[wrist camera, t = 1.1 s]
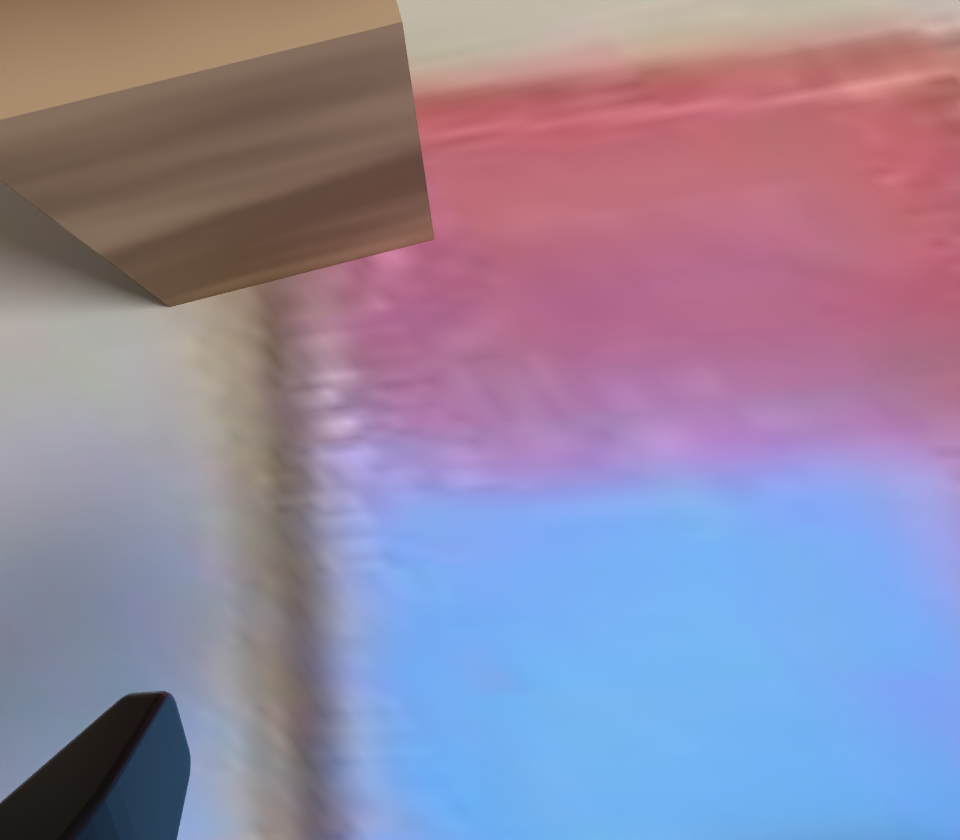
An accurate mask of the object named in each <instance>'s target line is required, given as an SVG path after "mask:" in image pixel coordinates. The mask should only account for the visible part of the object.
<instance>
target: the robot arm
mask: <svg viewBox="0 0 960 840" xmlns="http://www.w3.org/2000/svg"><path fill="white" fill-rule="evenodd" d="M189 776H190V752H189V747H188V744H187V740H186V737H185V733H184V729H183V726H182V722H181V719H180V715H179V712H178V708H177V705H176V702H175V700H174V698H173V696H172V695H171V694H170V693H168V692H165V691H157V692H141V693H131V694H128V695H126V696H124V697H122V698H121V699H120V700H118V701H117V702H116V703H115V704H114V705H113V706H112V707H110V708H109V709H108V710H107V711H106V712H105V713H103V714H102V715H101V716H100V717H99V718H98V719H97V720H95V721H94V722H93V723H92V724H91V725H90V726H88V727H87V728H86V729H85V730H84V731H83V732H82V733H80V734H79V735H78V736H77V737H76V738H75V739H73V740H72V741H71V742H70V743H69V744H68V745H67V746H65V747H64V748H63V749H62V750H61V751H60V752H58V753H57V754H56V755H55V756H54V757H53V758H52V759H50V760H49V761H48V762H47V763H46V764H45V765H43V766H42V767H41V768H40V769H39V770H38V771H37V772H35V773H34V774H33V775H32V776H31V777H30V778H28V779H27V780H26V781H25V782H24V783H23V784H22V785H20V786H19V787H18V788H17V789H16V790H15V791H13V792H12V793H11V794H10V795H9V796H8V797H7V798H5V799H4V800H3V801H2V802H1V803H0V840H177V835H178V830H179V825H180V820H181V816H182V811H183V806H184V801H185V796H186V791H187V786H188V781H189Z"/></svg>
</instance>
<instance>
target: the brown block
mask: <svg viewBox="0 0 960 840" xmlns="http://www.w3.org/2000/svg"><path fill="white" fill-rule="evenodd" d="M0 180H1V181H2V182H3V183H5V184H6V185H7V186H9V187H10V188H11V189H13V190H14V191H15V192H17V193H18V194H19V195H21V196H22V197H23V198H25V199H26V200H27V201H29V202H30V203H31V204H33V205H34V206H35V207H37V208H38V209H39V210H41V211H42V212H43V213H45V214H46V215H47V216H49V217H50V218H51V219H53V220H54V221H55V222H57V223H58V224H59V225H61V226H62V227H63V228H65V229H66V230H67V231H69V232H70V233H71V234H73V235H74V236H75V237H77V238H78V239H79V240H81V241H82V242H83V243H85V244H86V245H87V246H89V247H90V248H91V249H93V250H94V251H95V252H97V253H98V254H99V255H101V256H102V257H103V258H105V259H106V260H107V261H109V262H110V263H111V264H113V265H114V266H115V267H117V268H118V269H119V270H121V271H122V272H123V273H125V274H126V275H127V276H129V277H130V278H131V279H133V280H134V281H135V282H137V283H138V284H139V285H141V286H142V287H143V288H145V289H146V290H147V291H149V292H150V293H151V294H153V295H154V296H155V297H157V298H158V299H159V300H161V301H162V302H163V303H165V304H166V305H167V306H169V307H172V306H176V305H180V304H184V303H188V302H192V301H195V300H199V299H203V298H207V297H211V296H215V295H219V294H223V293H227V292H231V291H235V290H239V289H242V288H246V287H250V286H254V285H258V284H262V283H266V282H270V281H274V280H278V279H282V278H286V277H289V276H293V275H297V274H301V273H305V272H309V271H313V270H317V269H321V268H325V267H329V266H333V265H336V264H340V263H344V262H348V261H352V260H356V259H360V258H364V257H368V256H372V255H376V254H380V253H383V252H387V251H391V250H395V249H399V248H403V247H407V246H411V245H415V244H419V243H423V242H427V241H430V240H434V234H433V227H432V220H431V213H430V207H429V200H428V193H427V186H426V180H425V173H424V166H423V159H422V153H421V146H420V139H419V132H418V126H417V119H416V112H415V105H414V99H413V92H412V85H411V79H410V72H409V65H408V58H407V52H406V45H405V38H404V31H403V25H402V20H401V16H400V13H399V9H398V5H397V2H396V0H0Z"/></svg>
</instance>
